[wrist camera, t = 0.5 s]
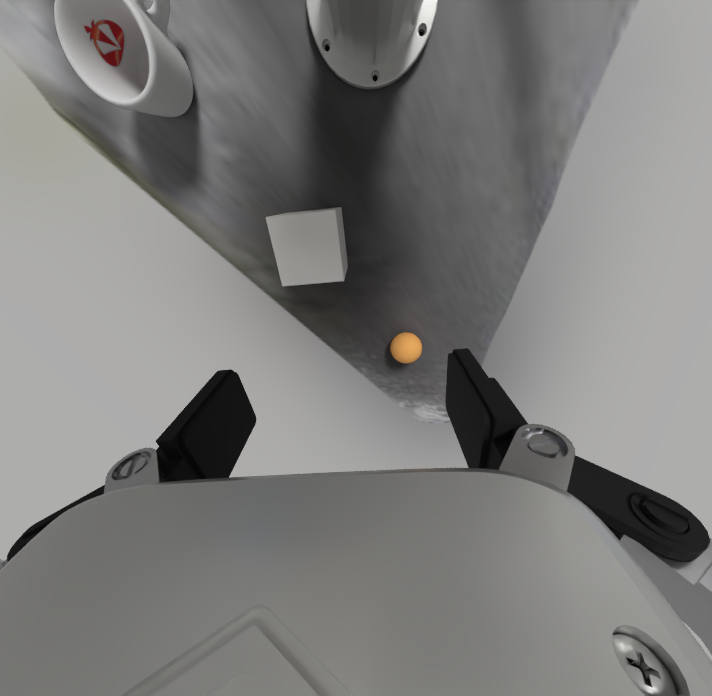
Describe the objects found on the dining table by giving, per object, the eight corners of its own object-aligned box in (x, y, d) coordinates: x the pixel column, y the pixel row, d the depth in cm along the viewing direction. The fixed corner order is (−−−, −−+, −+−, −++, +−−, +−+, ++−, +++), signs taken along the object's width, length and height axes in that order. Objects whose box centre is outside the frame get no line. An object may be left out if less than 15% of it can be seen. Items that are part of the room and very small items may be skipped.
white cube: (284, 213, 35) (265, 217, 28) (341, 206, 34) (335, 209, 28) (296, 270, 39) (282, 286, 32) (347, 266, 38) (343, 281, 31)
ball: (388, 328, 43) (391, 342, 39) (419, 326, 43) (425, 340, 38) (389, 353, 46) (392, 370, 41) (418, 352, 45) (424, 368, 41)
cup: (142, -33, 25) (55, -122, 18) (222, 34, 27) (172, -23, 20) (123, 94, 30) (49, 64, 23) (192, 143, 32) (144, 128, 25)
